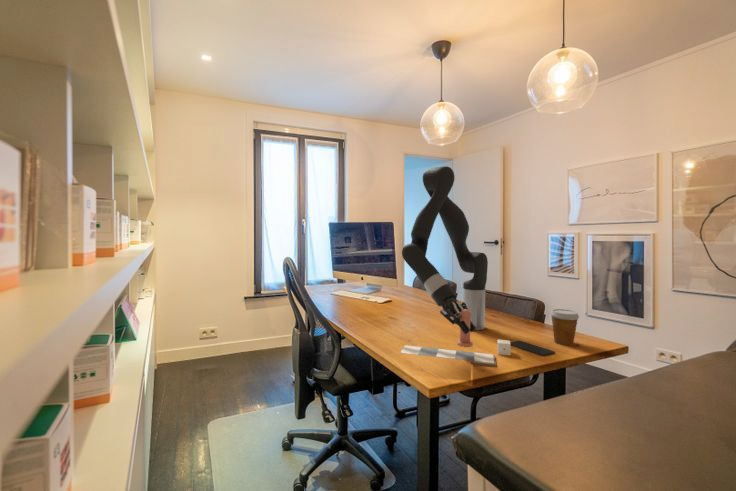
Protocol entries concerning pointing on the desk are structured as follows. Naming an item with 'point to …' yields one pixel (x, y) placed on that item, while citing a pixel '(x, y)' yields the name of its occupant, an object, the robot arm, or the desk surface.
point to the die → (503, 347)
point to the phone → (532, 348)
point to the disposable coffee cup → (564, 325)
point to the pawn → (464, 338)
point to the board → (453, 355)
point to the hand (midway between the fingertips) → (470, 331)
